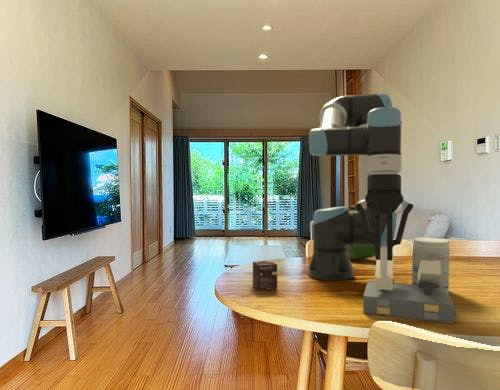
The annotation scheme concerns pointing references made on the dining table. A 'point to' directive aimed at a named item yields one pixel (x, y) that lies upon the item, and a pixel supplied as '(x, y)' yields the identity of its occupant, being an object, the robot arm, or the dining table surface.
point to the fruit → (361, 252)
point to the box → (264, 274)
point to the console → (410, 301)
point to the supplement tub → (431, 257)
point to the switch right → (429, 271)
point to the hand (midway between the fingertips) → (383, 274)
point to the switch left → (384, 277)
